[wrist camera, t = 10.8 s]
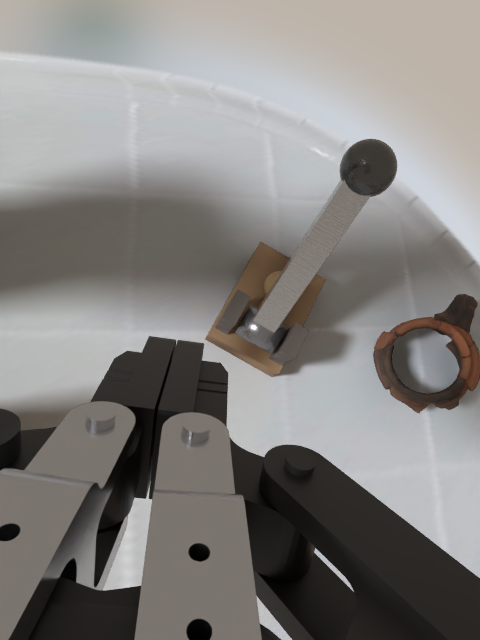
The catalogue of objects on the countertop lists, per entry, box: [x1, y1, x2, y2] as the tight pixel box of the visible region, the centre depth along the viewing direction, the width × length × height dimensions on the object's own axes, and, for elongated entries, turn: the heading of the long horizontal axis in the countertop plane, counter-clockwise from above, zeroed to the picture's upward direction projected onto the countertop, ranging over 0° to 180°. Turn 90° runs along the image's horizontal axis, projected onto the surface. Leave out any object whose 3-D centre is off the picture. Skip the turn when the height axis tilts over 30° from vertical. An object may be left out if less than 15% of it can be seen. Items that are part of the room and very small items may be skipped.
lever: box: [234, 139, 397, 354], centre depth 34 cm, size 4×4×18 cm
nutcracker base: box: [206, 242, 325, 377], centre depth 40 cm, size 7×10×6 cm
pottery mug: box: [373, 294, 480, 413], centre depth 43 cm, size 12×10×8 cm
